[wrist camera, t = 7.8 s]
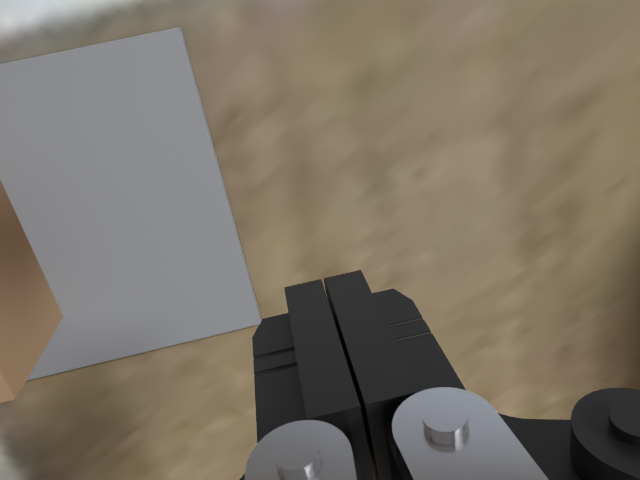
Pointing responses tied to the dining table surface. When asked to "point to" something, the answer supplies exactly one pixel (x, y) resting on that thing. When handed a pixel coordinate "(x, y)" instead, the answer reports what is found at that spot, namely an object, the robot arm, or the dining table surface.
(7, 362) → the block
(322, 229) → the dining table surface
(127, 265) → the mat
